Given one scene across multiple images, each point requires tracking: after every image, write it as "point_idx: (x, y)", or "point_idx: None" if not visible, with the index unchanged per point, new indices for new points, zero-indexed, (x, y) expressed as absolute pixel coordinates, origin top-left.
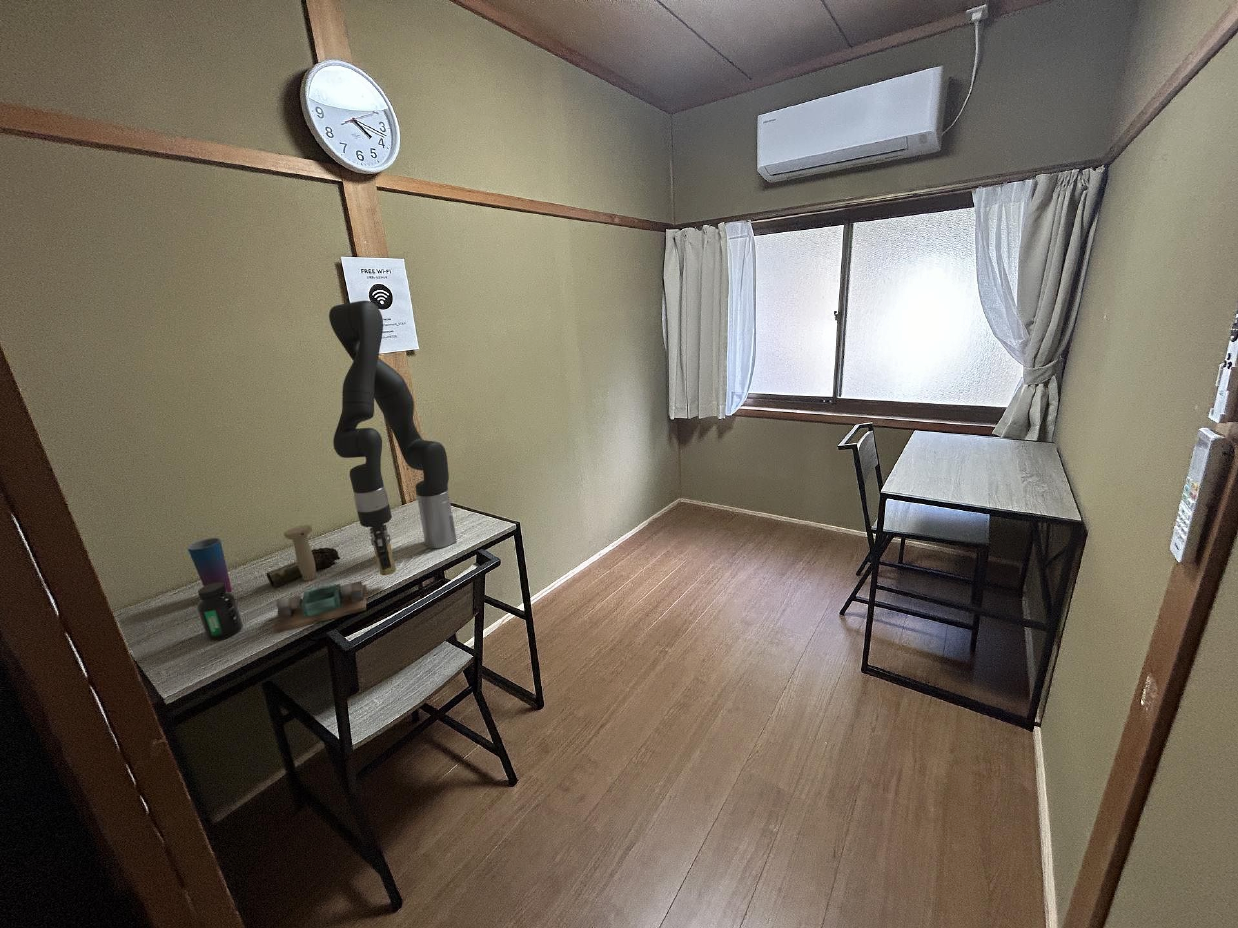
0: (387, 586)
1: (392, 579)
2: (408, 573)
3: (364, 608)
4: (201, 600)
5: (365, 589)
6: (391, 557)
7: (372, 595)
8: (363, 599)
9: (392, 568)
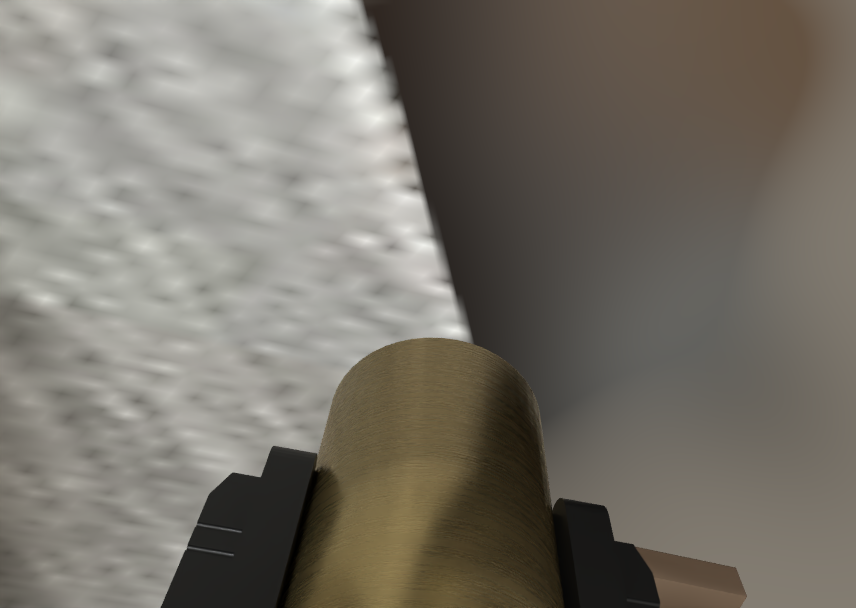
0: None
1: (313, 269)
2: (276, 78)
3: (740, 588)
4: None
5: None
6: (532, 560)
7: None
8: None
9: (537, 435)
